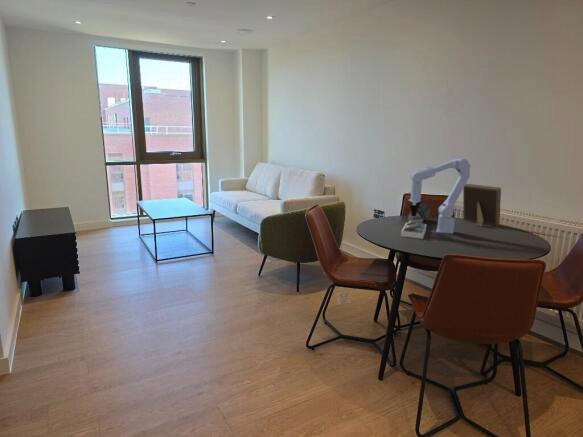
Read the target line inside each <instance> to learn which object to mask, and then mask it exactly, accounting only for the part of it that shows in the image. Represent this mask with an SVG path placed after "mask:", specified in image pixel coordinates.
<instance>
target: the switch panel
mask: <svg viewBox="0 0 583 437" xmlns="http://www.w3.org/2000/svg"><path fill="white" fill-rule="evenodd" d="M408 222H409V221H407V222H405V224H404V226H403V228H402V229H401V231H400V237H402V238H403V237H404V238H410V239H411V238H412V239H422V240H423V239H424V238H425V234H426V232H427V231H426V230H427V224H426V223H423V222H422V224H421V226H420V228H417V229H412V230H405V228H406V226H407V225H408Z"/></svg>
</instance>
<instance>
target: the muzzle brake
mask: <svg viewBox="0 0 583 437" xmlns="http://www.w3.org/2000/svg"><path fill="white" fill-rule="evenodd" d="M430 214H431V207H429V206H428V205H427V204H420V206H419V207H418V211H417V214H416V216H412V214H411V211H410V212H408V214H407V222H409V221H411V220H417V219H423V221H424V220H425V219H426V218H428V217H429V215H430Z"/></svg>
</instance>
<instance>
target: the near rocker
mask: <svg viewBox="0 0 583 437" xmlns="http://www.w3.org/2000/svg"><path fill="white" fill-rule="evenodd" d="M420 226H421V222H419V223H415V224H410V225H407V226H406V228H405V230H412V229H417V228H420Z"/></svg>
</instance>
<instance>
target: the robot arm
mask: <svg viewBox="0 0 583 437" xmlns="http://www.w3.org/2000/svg"><path fill="white" fill-rule="evenodd" d="M448 169H454V170H456V171H457V173H458V177H457V179H456V182H455V183H454V185H453V187H452V189H451V191H450V192H449V195H448V196H447V198H446V200H445V201H444V202H443V203H442V204H441V205H439V207H438V210H437V211H438V218H437V228H436V231H435V232H436V233H442V234H451V235H453V234H454V232H455V227H456V226H455V222H456V217H453V215H454V210H455V209H456V207H455V204H456V202H457V201H458V199H459V197H460V195H461V194H462V192H463V188H464V186H465V184H468V183H467V182H468V181H469V179H470V176H471V174H470V173H471V172H470V169H471V165H470V161H469V160H467V159H465V158H461V157H457V158H455V159H451V160H447V161H446V162H444V163H441V164H439V165H437V166H435V167H433V166H426V168H423V169H419V170H418V171H415V172H413V173H412V174H411V176H410V179H411V180H412V181H411V187H410V188H411V190H410V198H409V199H408V200H407V201H408V202H410V204H409V208H410V212H411V214H412V216H416V214H417V211H418V207H419V206H420V205H421V201H422V200H421V199H422V198H421V197H422V187H423V186H422V184H423V183H422V182H423V181H424V180H427V179H429V178H432V177H434V176H436V173H440V172H442V171H446V170H448Z"/></svg>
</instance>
